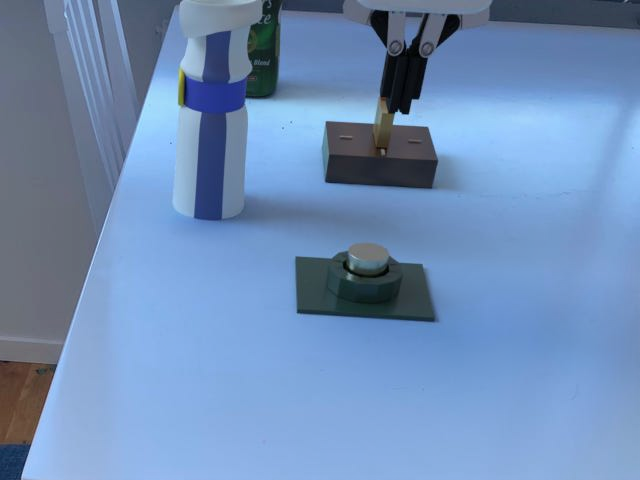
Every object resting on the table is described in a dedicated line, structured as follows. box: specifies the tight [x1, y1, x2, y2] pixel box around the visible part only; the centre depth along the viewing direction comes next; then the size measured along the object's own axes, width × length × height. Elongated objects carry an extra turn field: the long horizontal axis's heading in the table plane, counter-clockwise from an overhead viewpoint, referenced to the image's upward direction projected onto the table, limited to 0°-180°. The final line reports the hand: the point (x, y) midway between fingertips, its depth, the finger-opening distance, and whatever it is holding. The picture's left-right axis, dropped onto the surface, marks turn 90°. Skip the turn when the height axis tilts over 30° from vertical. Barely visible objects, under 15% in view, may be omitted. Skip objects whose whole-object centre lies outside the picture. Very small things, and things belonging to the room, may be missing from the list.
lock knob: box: [373, 96, 396, 148], centre depth 105 cm, size 5×1×4 cm, turn 175°
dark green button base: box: [294, 250, 436, 323], centre depth 86 cm, size 12×10×4 cm
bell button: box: [345, 242, 390, 278], centre depth 84 cm, size 4×4×2 cm
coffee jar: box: [246, 0, 283, 97], centre depth 119 cm, size 10×8×19 cm
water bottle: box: [172, 0, 262, 221], centre depth 92 cm, size 8×9×25 cm
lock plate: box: [321, 120, 439, 189], centre depth 108 cm, size 12×10×3 cm
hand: (396, 107), depth 74 cm, fingers closed
